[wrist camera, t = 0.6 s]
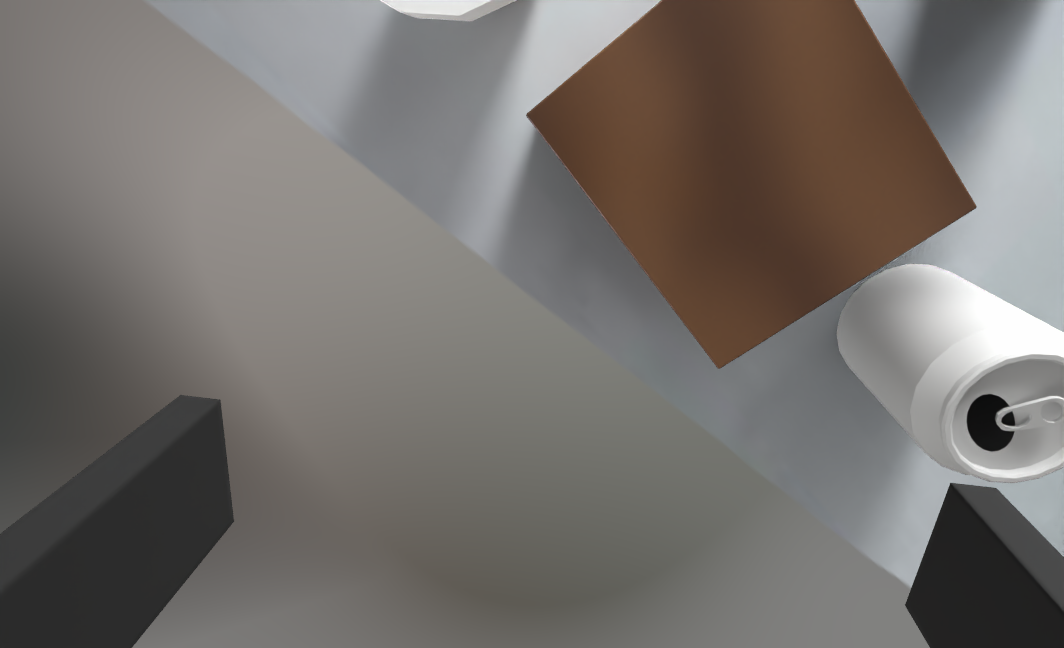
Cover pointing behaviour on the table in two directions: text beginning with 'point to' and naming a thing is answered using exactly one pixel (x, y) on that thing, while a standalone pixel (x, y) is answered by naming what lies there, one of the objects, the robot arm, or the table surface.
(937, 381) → the can
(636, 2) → the table surface
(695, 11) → the brown square box
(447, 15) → the foam cup
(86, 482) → the robot arm
